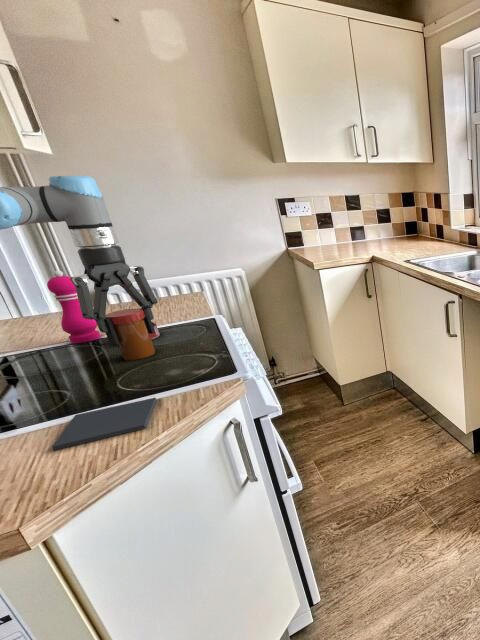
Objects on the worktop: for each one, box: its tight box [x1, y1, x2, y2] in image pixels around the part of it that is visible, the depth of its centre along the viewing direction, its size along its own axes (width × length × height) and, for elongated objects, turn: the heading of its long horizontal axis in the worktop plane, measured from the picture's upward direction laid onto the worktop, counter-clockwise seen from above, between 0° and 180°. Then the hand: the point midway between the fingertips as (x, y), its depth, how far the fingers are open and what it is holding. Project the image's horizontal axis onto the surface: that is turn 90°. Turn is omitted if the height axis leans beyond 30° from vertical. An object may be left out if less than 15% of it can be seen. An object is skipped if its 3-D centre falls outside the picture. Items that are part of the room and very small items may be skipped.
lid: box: [105, 307, 145, 325], centre depth 104 cm, size 7×7×2 cm
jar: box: [113, 319, 156, 361], centre depth 106 cm, size 6×6×11 cm
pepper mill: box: [46, 270, 102, 344], centre depth 117 cm, size 7×7×20 cm
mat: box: [51, 397, 158, 451], centre depth 77 cm, size 12×12×1 cm
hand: (133, 338), depth 106 cm, fingers closed on lid, 7 cm apart
